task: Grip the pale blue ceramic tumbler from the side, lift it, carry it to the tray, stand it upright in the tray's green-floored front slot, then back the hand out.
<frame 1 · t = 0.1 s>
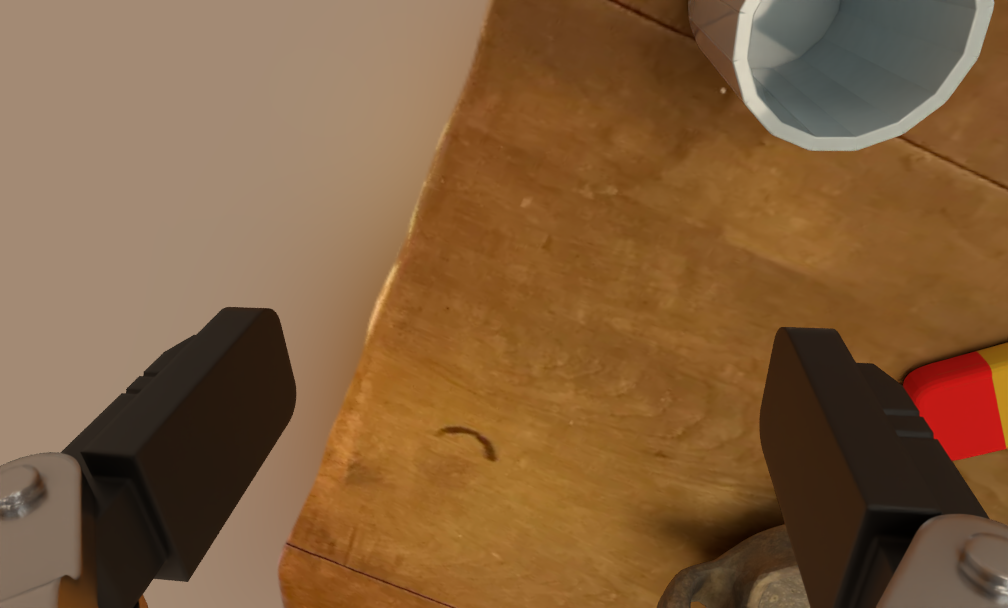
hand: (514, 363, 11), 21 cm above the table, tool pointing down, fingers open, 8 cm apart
bowl: (782, 551, 41), on the table
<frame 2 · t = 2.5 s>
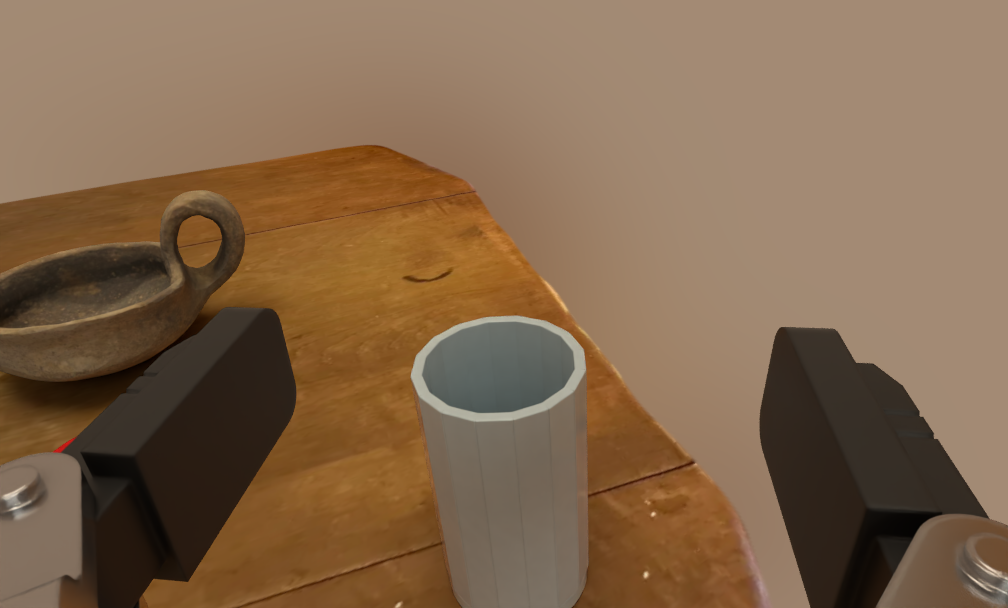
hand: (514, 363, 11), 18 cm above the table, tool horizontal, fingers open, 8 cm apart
tumbler: (518, 566, 28), on the table
bowl: (143, 348, 46), on the table
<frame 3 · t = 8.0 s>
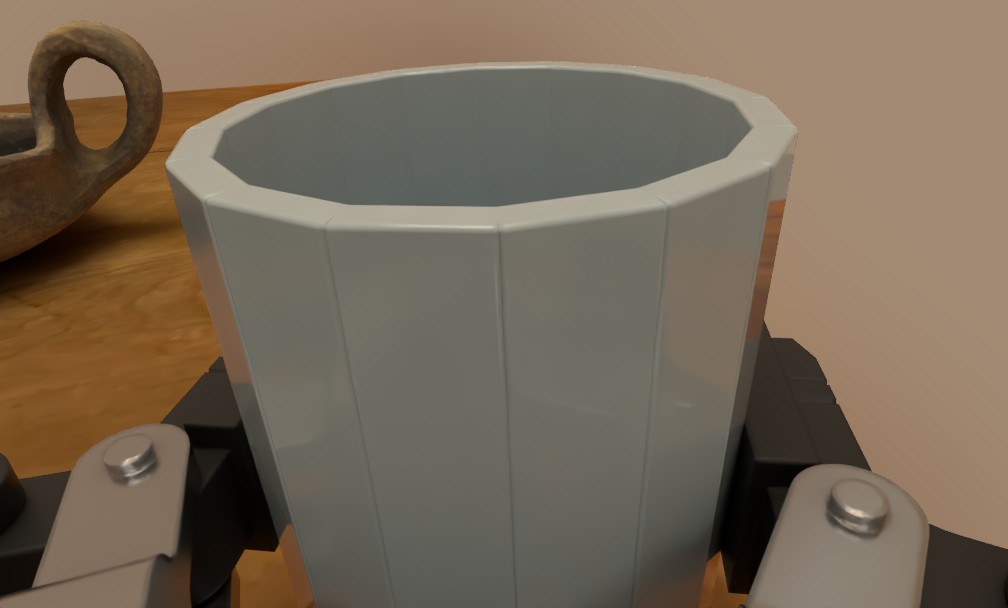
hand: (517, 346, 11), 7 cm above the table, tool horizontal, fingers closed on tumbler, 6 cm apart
bowl: (9, 257, 32), on the table
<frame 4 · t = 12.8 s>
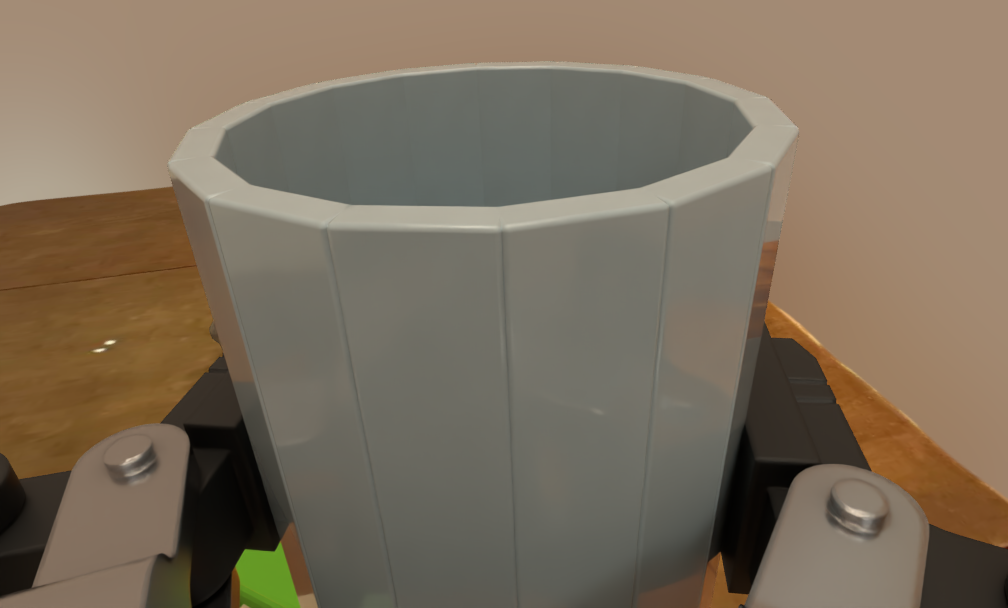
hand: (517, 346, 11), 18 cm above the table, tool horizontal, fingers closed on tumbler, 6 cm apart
popsicle: (290, 592, 28), on the table
when the fingers open (8 cm above the table, at t = 17.8 s): tumbler stays where it is, resting on tray.
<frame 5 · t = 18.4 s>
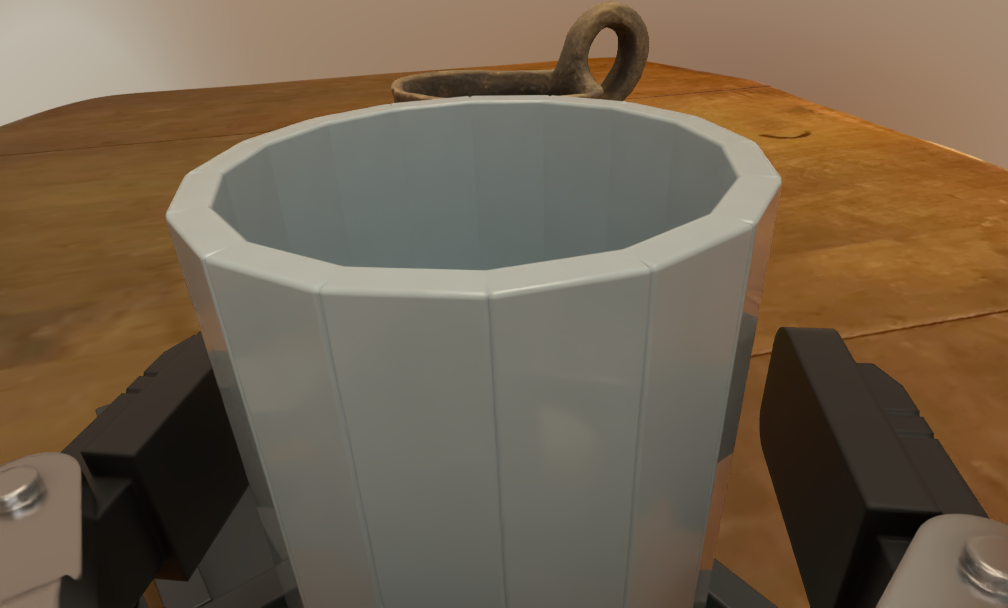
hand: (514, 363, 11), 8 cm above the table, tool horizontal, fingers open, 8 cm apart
bowl: (522, 171, 45), on the table
tray: (407, 603, 16), on the table
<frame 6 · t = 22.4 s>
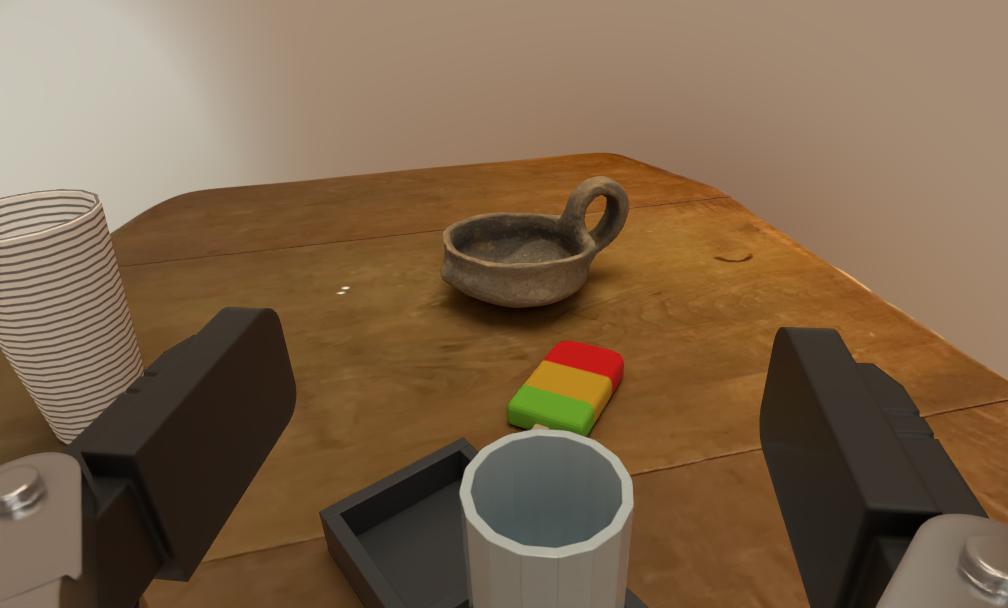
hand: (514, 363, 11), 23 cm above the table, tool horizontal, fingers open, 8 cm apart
popsicle: (553, 423, 44), on the table
bowl: (536, 292, 60), on the table
cup: (108, 423, 46), on the table
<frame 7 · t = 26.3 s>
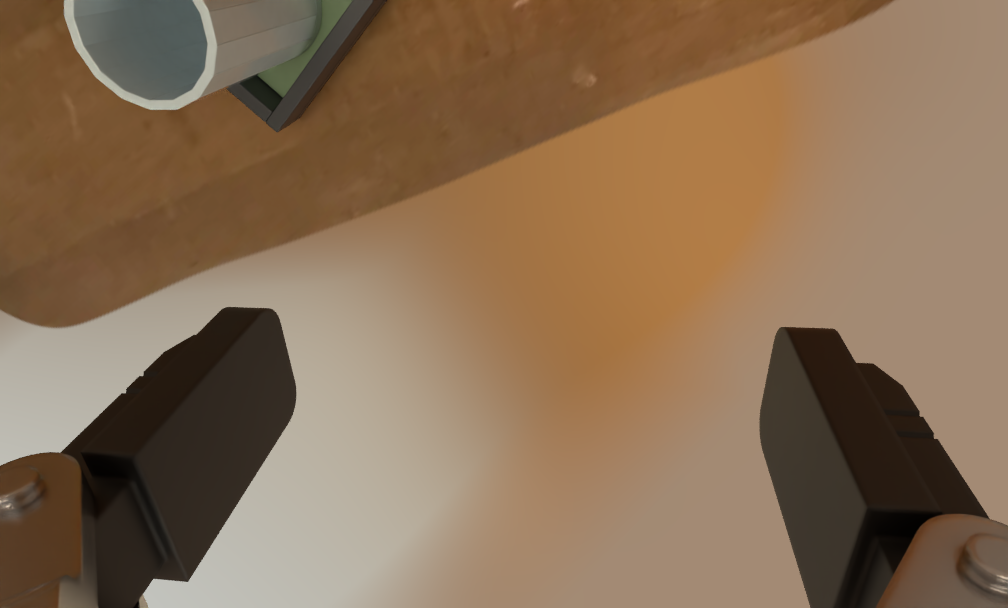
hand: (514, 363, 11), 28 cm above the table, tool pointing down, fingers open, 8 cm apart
tumbler: (267, 1, 34), point 1 cm above the table, touching tray
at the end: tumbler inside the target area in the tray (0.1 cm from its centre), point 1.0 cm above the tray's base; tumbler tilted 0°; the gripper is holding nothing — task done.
